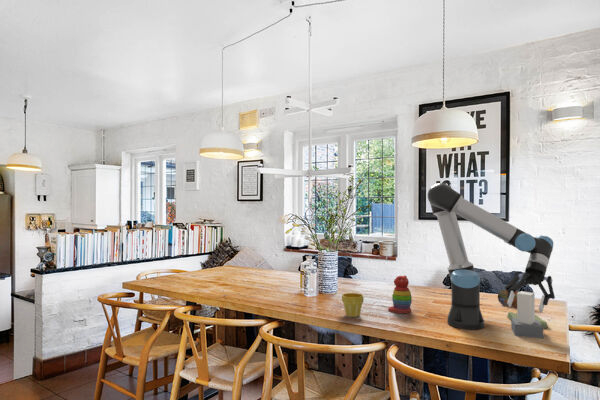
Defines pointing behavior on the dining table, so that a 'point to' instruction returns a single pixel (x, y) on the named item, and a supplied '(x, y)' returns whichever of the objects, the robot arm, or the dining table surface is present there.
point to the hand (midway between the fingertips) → (524, 307)
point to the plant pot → (352, 303)
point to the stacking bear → (401, 296)
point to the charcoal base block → (527, 329)
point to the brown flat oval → (503, 298)
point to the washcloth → (543, 323)
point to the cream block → (525, 307)
